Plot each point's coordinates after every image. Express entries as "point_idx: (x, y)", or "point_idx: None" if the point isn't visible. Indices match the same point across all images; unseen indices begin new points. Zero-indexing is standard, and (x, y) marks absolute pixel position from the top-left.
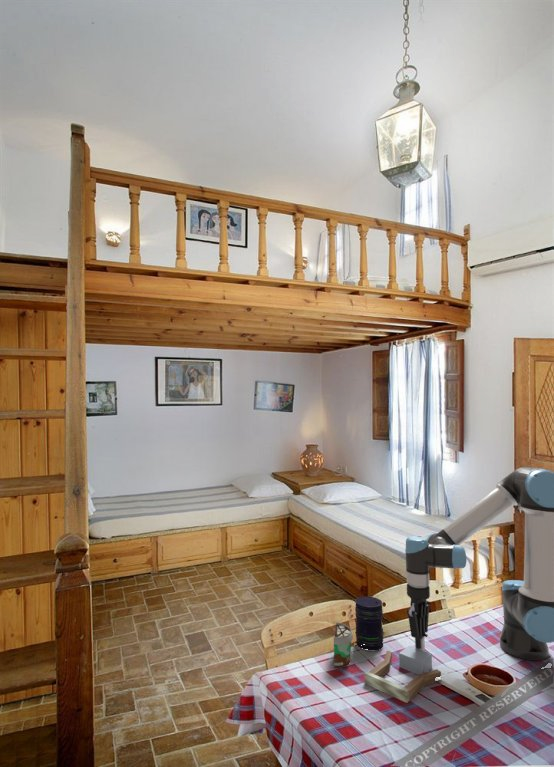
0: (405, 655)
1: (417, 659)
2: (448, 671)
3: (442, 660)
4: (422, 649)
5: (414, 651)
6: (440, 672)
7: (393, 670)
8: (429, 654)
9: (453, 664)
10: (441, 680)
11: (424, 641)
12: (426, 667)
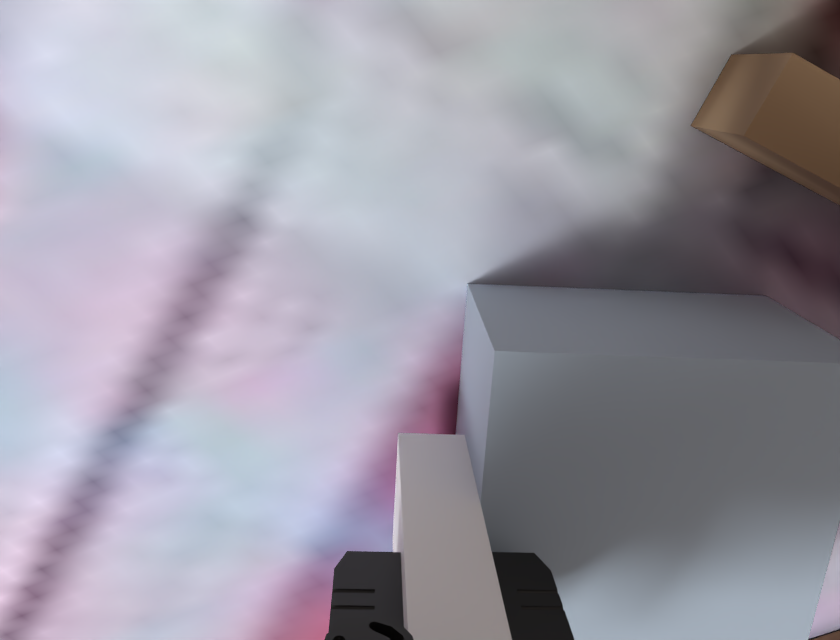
0: (807, 627)
1: (835, 451)
2: (416, 54)
3: (165, 243)
4: (482, 518)
5: (600, 585)
6: (791, 56)
7: (822, 597)
8: (542, 370)
9: (153, 64)
10: (728, 49)
11: (413, 586)
12: (667, 311)
